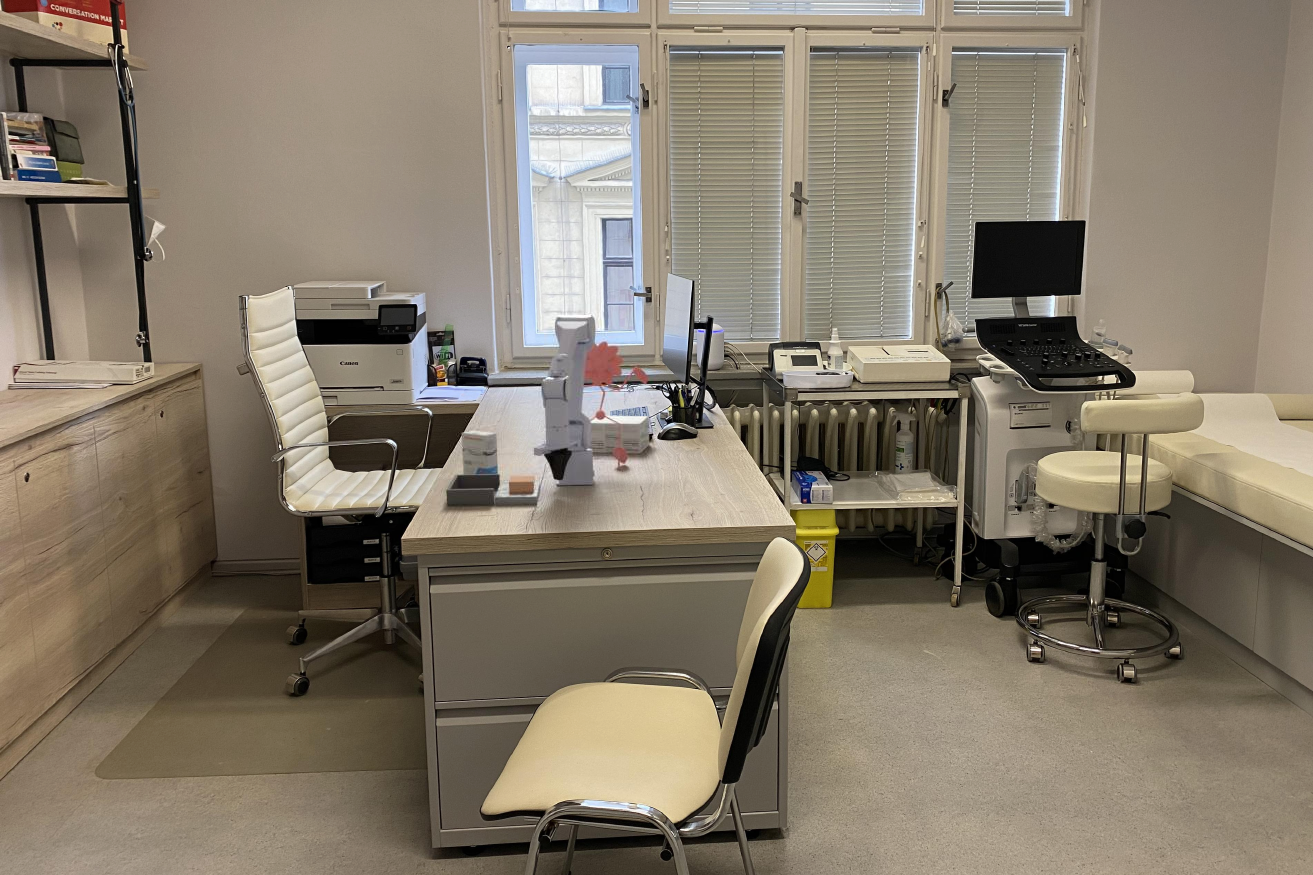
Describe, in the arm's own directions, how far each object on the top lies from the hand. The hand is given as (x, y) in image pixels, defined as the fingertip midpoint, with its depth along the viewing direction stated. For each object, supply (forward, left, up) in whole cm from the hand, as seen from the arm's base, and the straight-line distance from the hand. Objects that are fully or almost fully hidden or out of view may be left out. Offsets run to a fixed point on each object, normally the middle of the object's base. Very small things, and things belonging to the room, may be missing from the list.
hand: (558, 479), depth 251 cm
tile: (+9, 0, -2) cm, 9 cm away
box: (+21, 0, -4) cm, 21 cm away
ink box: (+22, -24, -5) cm, 33 cm away
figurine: (-11, -34, -4) cm, 36 cm away
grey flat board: (+10, 0, -4) cm, 11 cm away
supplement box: (-16, -56, -5) cm, 59 cm away
